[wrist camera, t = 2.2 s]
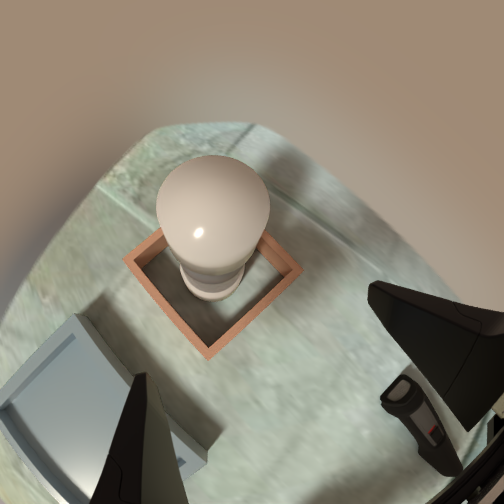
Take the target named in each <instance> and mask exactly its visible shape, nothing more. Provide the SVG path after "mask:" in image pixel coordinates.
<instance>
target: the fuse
mask: <svg viewBox="0 0 504 504" xmlns="http://www.w3.org/2000/svg"><path fill="white" fill-rule="evenodd" d="M156 209H157V217H158V220H159V223H160V226H161V228H162V231H163V233H164V236H165V238H166V240H167V243H168V245H169V247H170V250H171V252H172V253H173V255H174V257H175V258H176V259H177V260H178V261H179V262H180V271H181V275H182V277H183V279H184V282H185V284H186V286H187V288H188V289H189V291H190V292H191V293H192V294H193V295H194V296H195V297H197V298H199V299H201V300H203V301H207V302H218V301H222V300H224V299H226V298H228V297H229V296H231V295H232V294H233V293H234V292H235V290H236V289H237V287H238V285H239V283H240V281H241V279H242V276H243V274H244V270H245V263H246V262H247V261H248V260H249V258H250V257H251V256H252V254H253V252H254V250H255V248H256V246H257V244H258V242H259V239H260V237H261V235H262V233H263V231H264V229H265V226H266V224H267V221H268V218H269V214H270V198H269V194H268V191H267V188H266V186H265V184H264V182H263V181H262V179H261V178H260V176H259V175H258V174H257V173H256V172H255V171H254V170H253V169H252V168H250V167H249V166H247V165H246V164H244V163H243V162H240V161H238V160H236V159H233V158H230V157H226V156H218V155H209V156H202V157H197V158H194V159H191V160H189V161H187V162H184V163H183V164H181V165H179V166H178V167H177V168H175V169H174V170H173V171H172V172H171V173H170V174H169V175H168V176H167V178H166V179H165V180H164V182H163V184H162V185H161V188H160V190H159V193H158V197H157V204H156Z"/></svg>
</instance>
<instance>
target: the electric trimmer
mask: <svg viewBox="0 0 504 504" xmlns="http://www.w3.org/2000/svg"><path fill="white" fill-rule="evenodd" d="M380 400H381V401H382V403H381V406H382V407H383V408H384V409H385V410H386V411H387V412H388V413H389V414H391V415H393V416H395V417H397V418H399V419H400V421H401V422H402V423H403V424H404V425H405V426H406V428H407V429H408V430H409V431H410V433H411V434H412V435H413V436H414V438H415V439H416V441H417V443H418V445H419V450H418V453H419V454H420V455H421V457H422V458H423V459H425V460H426V461H427V462H428V463H429V464H430V465H431V466H432V467H434V468H435V469H436V470H437V471H438V472H439V473H440V474H442V475H443V476H446V477H456V476H458V475H459V474H460V473H461V472H462V471H463V466H462V464H461V462H460V460H459V458H458V456H457V454H456V452H455V449H454V447H453V445H452V443H451V441H450V439H449V437H448V435H447V433H446V431H445V429H444V427H443V425H442V423H441V421H440V419H439V417H438V415H437V413H436V412H435V410H434V408H433V406H432V404H431V403H430V401H429V399H428V397H427V396H426V394H425V393H424V391H423V390H422V388H421V387H420V385H419V384H418V383H417V382H415V381H414V380H412V379H411V378H410V377H408V376H407V375H400V376H399V377H398V378H397V379H396V380H395V381H394V382H393V383H392V384H391V385H390V386H389V387H388V389H387V390H386V391H385V392H384V393H383V394H382V395H381V396H380Z"/></svg>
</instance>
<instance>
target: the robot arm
mask: <svg viewBox="0 0 504 504" xmlns="http://www.w3.org/2000/svg"><path fill="white" fill-rule="evenodd" d="M367 300H368V304H369V305H370V307H371V308H372V310H373V311H374V313H375V314H376V316H377V317H378V318H379V320H380V321H381V323H382V324H383V326H384V327H385V329H386V330H387V331H388V333H389V334H390V335H391V336H392V337H393V339H394V340H395V341H396V342H397V343H398V345H399V346H400V347H401V348H402V349H403V351H404V352H405V353H406V354H407V355H408V357H409V358H410V359H411V360H412V362H413V363H414V364H415V365H416V366H417V368H418V369H419V370H420V371H421V373H422V374H423V375H424V376H425V378H426V379H427V380H428V381H429V383H430V384H431V385H432V386H433V388H434V389H435V390H436V392H437V393H438V394H439V395H440V397H441V398H442V399H443V401H444V402H445V403H446V405H447V406H448V407H449V409H450V410H451V411H452V412H453V414H454V415H455V416H456V418H457V419H458V420H459V422H460V423H461V424H462V426H463V427H464V429H465V430H466V431H467V432H469V431H470V430H471V429H472V428H473V427H474V426H475V425H476V424H477V423H478V422H479V421H480V420H481V419H482V418H483V416H484V415H485V414H486V413H487V412H488V411H489V410H490V409H492V410H493V411H494V412H495V413H496V414H495V415H494V416H493V417H492V418H491V419H490V421H489V422H488V423H487V446H486V447H485V448H484V449H483V450H482V452H481V453H480V454H479V455H478V456H477V457H476V458H475V459H474V460H473V461H472V462H471V463H470V464H469V465H468V466H467V467H466V468H465V469H464V470H463V471H462V472H461V473H460V474H459V475H458V476H457V477H456V478H455V479H454V480H453V481H452V482H451V483H449V484H448V485H447V486H446V487H445V488H444V489H443V490H441V491H440V492H439V493H438V494H437V495H436V496H434V497H433V498H432V499H431V500H429V501H428V502H427V503H426V504H461V503H462V502H463V501H465V500H467V501H468V503H467V504H504V312H498V311H493V310H488V309H482V308H478V307H473V306H469V305H465V304H461V303H457V302H454V301H453V302H452V301H450V300H447V299H443V298H440V297H436V296H433V295H429V294H426V293H422V292H419V291H415V290H411V289H408V288H404V287H401V286H397V285H394V284H390V283H386V282H383V281H379V280H377V281H375V282H373V283H371V284H370V285H369V288H368V298H367ZM108 453H109V454H108V455H107V458H106V461H105V464H104V467H103V470H102V473H101V476H100V478H99V481H98V483H97V486H96V488H95V490H94V493H93V495H92V497H91V500H90V502H89V504H189V503H188V499H187V496H186V492H185V489H184V485H183V482H182V478H181V474H180V470H179V466H178V462H177V458H176V454H175V450H174V446H173V441H172V436H171V432H170V427H169V424H168V421H167V417H166V414H165V411H164V408H163V405H162V402H161V398H160V395H159V392H158V389H157V386H156V384H155V383H154V381H153V380H152V379H151V377H150V376H149V374H148V373H147V372H142V373H139V374H136V375H135V377H134V380H133V382H132V385H131V388H130V391H129V393H128V396H127V399H126V402H125V404H124V407H123V410H122V413H121V416H120V419H119V421H118V424H117V427H116V430H115V433H114V436H113V439H112V442H111V445H110V449H109V452H108Z"/></svg>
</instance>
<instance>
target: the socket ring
mask: <svg viewBox="0 0 504 504" xmlns="http://www.w3.org/2000/svg"><path fill="white" fill-rule="evenodd" d="M167 246H169V245H168V243H167V240H166V238H165V236H164V233H163V231H162V228H161V227H160V228H159V229H158V230H156V231H155V232H154V233H153V234H152V235H150V236H149V237H148V238H147V239H145V240H144V241H143V242H142V243H141V244H139V245H138V246H137V247H136V248H135V249H133V250H132V251H131V252H130V253H129V254H128V255H126V256H125V257H124V258H123V259H122V260H123V261H124V262H125V264H126V265H127V266H128V268H129V269H130V270H131V272H132V273H133V274H134V275H135V277H136V278H137V279H138V281H139V282H140V283H141V284H142V286H143V287H144V288H145V289H146V291H147V292H148V293H149V294H150V296H151V297H152V298H153V299H154V300H155V302H156V303H157V304H158V305H159V306H160V308H161V309H162V310H163V311H164V312H165V314H166V315H167V316H168V317H169V318H170V319H171V321H172V322H173V323H174V324H175V325H176V326H177V328H178V329H179V330H180V331H181V332H182V333H183V334H184V335H185V337H186V338H187V339H188V340H189V341H190V342H191V343H192V344H193V345H194V346H195V348H196V349H197V350H198V351H199V352H200V353H201V354H202V355H203V356H204V357H205V358H206V359H207V360H208V361H209V360H210V359H211V358H212V357H213V356H214V355H215V354H216V353H218V352H219V351H220V350H221V349H222V348H223V347H224V346H225V345H226V344H227V343H229V342H230V341H231V340H232V339H233V338H234V337H235V336H236V335H237V334H238V333H239V332H241V331H242V330H243V329H244V328H245V327H246V326H247V325H248V324H249V323H250V322H251V321H252V320H253V319H254V318H255V317H257V316H258V315H259V314H260V313H261V312H262V311H263V310H264V309H265V308H266V307H267V306H268V305H269V304H270V303H271V302H272V301H273V300H274V299H275V298H276V297H277V296H278V295H280V294H281V293H282V292H283V291H284V290H285V289H286V288H287V287H288V286H289V285H290V284H291V283H292V282H293V281H294V280H295V279H296V278H297V277H298V276H299V275H300V274H301V273H302V272H303V271H304V270H303V269H302V267H301V266H300V265H299V264H298V263H297V262H296V261H295V260H294V259H293V258H292V257H291V256H290V255H289V254H288V253H287V252H286V251H285V250H284V249H283V248H282V247H281V246H280V245H279V244H278V243H277V242H276V241H275V240H274V239H273V238H272V236H271V235H270V234H269V233H268V232H267V231H266V230H265V229H264V231H263V233H262V235H261V237H260V239H259V242H258V244H257V246H256V248H257V249H258V250H259V251H260V252H261V254H262V255H263V256H264V257H265V258H266V259H267V260H268V261H269V262H270V263H271V264H272V265H273V266H274V267H275V268H276V269H277V270H278V271H279V272H280V273H281V274H282V275H283V276H284V278H283V279H282V280H281V281H280V282H279V283H278V284H277V285H276V286H275V287H274V288H273V289H272V290H271V291H270V292H269V293H268V294H267V295H265V296H264V297H263V298H262V299H261V300H260V301H259V302H258V303H257V304H256V305H255V306H254V307H253V308H252V309H251V310H249V311H248V312H247V313H246V314H245V315H244V316H243V317H242V318H241V319H240V320H239V321H238V322H237V323H235V324H234V325H233V326H232V327H231V328H230V329H229V330H228V331H227V332H226V333H225V334H223V335H222V336H221V337H220V338H219V339H218V340H217V341H216V342H215V343H213V344H212V345H211V346H210V347H208V346H207V345H206V344H205V343H204V342H203V341H202V340H201V339H200V337H199V336H198V335H197V334H196V333H195V332H194V331H193V330H192V329H191V328H190V326H189V325H188V324H187V323H186V322H185V321H184V320H183V319H182V317H181V316H180V315H179V314H178V313H177V312H176V311H175V309H174V308H173V307H172V306H171V305H170V304H169V302H168V301H167V300H166V299H165V298H164V296H163V295H162V294H161V293H160V292H159V290H158V289H157V288H156V287H155V286H154V284H153V283H152V282H151V281H150V279H149V278H148V277H147V276H146V274H145V273H144V272H143V271H142V269H141V268H142V267H144V266H145V265H146V264H147V263H148V262H150V261H151V260H152V259H153V258H154V257H155V256H157V255H158V254H159V253H160V252H161V251H163V250H164V249H165V248H166V247H167Z"/></svg>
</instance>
